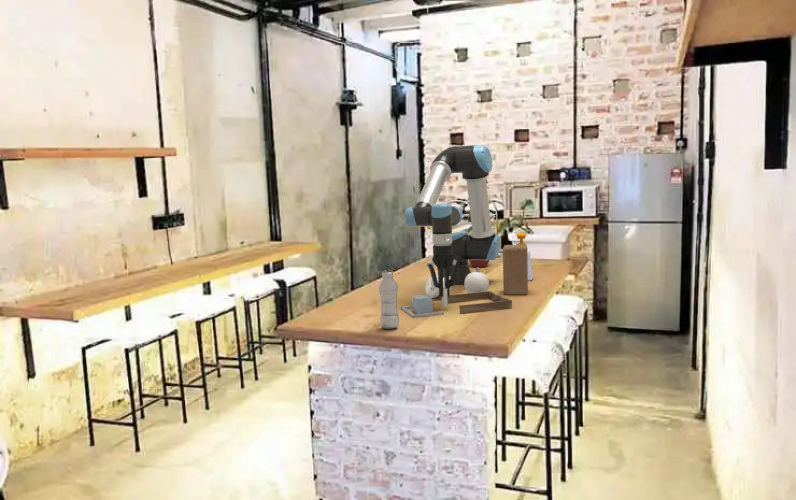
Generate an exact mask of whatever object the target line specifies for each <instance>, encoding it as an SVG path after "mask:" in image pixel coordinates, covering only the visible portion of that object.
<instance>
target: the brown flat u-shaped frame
mask: <svg viewBox="0 0 796 500" xmlns="http://www.w3.org/2000/svg"><path fill="white" fill-rule="evenodd" d="M481 300H484V301H485V300H491V301H490V302H489V301H488V302H479V303H469V304H461V305H459V314H460V315H461V314H463V315H464V314H471V313H481V312H490V311H497V310H499V311H500V310H506V309H507V310H508V309H512V308H513V300H511V299H509V298H507V297H505V296H503V295H500V294H498V293H495V292H493V291H489V290H487V291H486V292H477V293H468V292H466V293H459V294H458V293H457V294H450V295H449V296H447V301H448V304H454V303H455V304H456V303H462V302H463V303H466V302H472V301H475V302H476V301H481Z"/></svg>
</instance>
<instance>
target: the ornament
mask: <svg viewBox="0 0 796 500" xmlns="http://www.w3.org/2000/svg"><path fill="white" fill-rule="evenodd" d="M475 268H476V269H475V271H473V272H472V271H471V273H470V274H468V275H467V277H466V278H465V282H464V284H463V285H464V289H465V292H466V293H477V292H486V291H489V287H490V281H489V278H488V276H487V275H486V273H483V272H482V271H481V267H480V268H479V267H475Z"/></svg>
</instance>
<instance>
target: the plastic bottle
mask: <svg viewBox="0 0 796 500" xmlns="http://www.w3.org/2000/svg"><path fill="white" fill-rule="evenodd" d="M381 275H382V276H381V277H382V280H381V281H380V283H379V286H378V290H379V297H380V306H381V307H380V316H379V324H380V326H381V328H382V329H387V330H390V329H396V328H398V327H399V325H400V317H399V313H398V307H397V306H398V302H397V301H398V291H399V290H398V288H399V285H398V283H397V282H396V280H395V279H394V271H393V270H384V271H383V270H382V271H381Z"/></svg>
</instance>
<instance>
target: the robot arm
mask: <svg viewBox="0 0 796 500" xmlns="http://www.w3.org/2000/svg"><path fill="white" fill-rule="evenodd" d="M492 169H493V158H492V154H491V151H490V149H489V147H488V146H487V145H480V144H471V145H459V146H458V145H453V146H450V147H447V148H445V149H444V150H442V151H440V153H439V154H438V155H437V156H435V158H434V159H433V160H432V162H431V164H430V168H429V171H430V172H429V174H428V176H427V179H426V181H425V183H424V185H423V188H422V190H421V192H420V194H419V196H418V198H417V201H416V203H415V205H414V206H411V207H408V208H406V210H405V213H404V219H405V220H404V221H405V222H406V225H407V226H409V227H431V228H432V230H431V232H432V244H433V245H432V258H431V261H430V262H428V263H426V267H427V268H428V270H429V272H430V277H432V280H433V284H434V286H435V287H436V288H439V296H438V297H440V298H441V299H440V300H441V305H442V306H444V307H446V306H448V304H449V303H448V301H447V296H449V295H451V294H450V291H449V289H450V287H451V286H452V287H454V286H455V285H462V284H463V285H464V282H465V278H466V277H467V275H468V274H470V273H472V271H471V269H470V266H469V260H486V261H487V260H489V261H495V260H496V259H497V258H498V256H499V253H500V250H501V249H500V248H501V236H500V235H499V234H496V230H495V229H494V228H493V227H492V221H491V215H490V214H491V213H490V205H489V195H488V186H487V178H488V177H489V175H490V172H491V171H492ZM452 174H461V175H462V180H464V181H466V187H467V188H466V189H467V196H468V204H469V211H470V214H471V222H472V224H471V227H472V230H471V231H470V233H469V234H468V231H459V232H458V231H457V232H453V227H454V226H457V225H458V224H459V223H460V222H461V221H462V220H463V212H462V210H461V209H460V208H459V207H458V206H453V205H451V204H450V203H437V202H438V200H439V197H440V194H441V192H442V190H443V188H444V185H445V182H446V180H447V179H449V178H450V177H451V175H452ZM471 222H470V223H471ZM435 266H436V268H437V273H436V270H435V268H434V267H435ZM436 275H438V281H437V277H436ZM449 276H450V280H449ZM443 278H444V281H445V288H443ZM450 290H451V289H450Z"/></svg>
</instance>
